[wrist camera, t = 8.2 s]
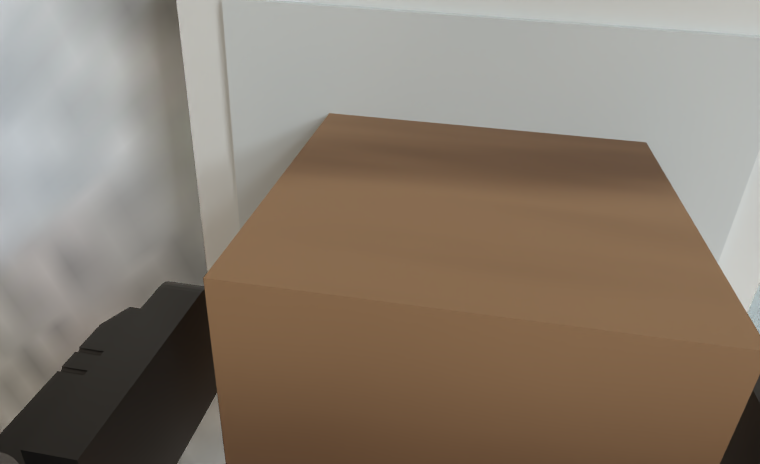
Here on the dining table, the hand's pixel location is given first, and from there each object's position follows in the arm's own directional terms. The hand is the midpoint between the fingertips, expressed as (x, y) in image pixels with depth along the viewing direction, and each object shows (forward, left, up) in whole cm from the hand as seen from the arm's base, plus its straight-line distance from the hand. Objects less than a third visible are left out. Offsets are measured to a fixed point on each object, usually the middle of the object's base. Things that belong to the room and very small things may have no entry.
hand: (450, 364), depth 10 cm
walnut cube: (0, 0, -4) cm, 4 cm away
